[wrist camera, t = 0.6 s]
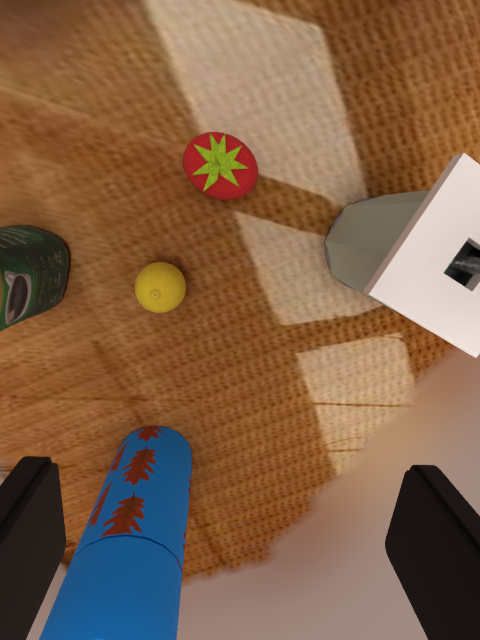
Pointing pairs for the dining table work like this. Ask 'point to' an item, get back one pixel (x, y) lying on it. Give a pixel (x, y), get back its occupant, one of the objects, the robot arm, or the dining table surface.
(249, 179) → the strawberry
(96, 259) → the dining table surface
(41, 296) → the coffee jar
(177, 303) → the lemon
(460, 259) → the plunger
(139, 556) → the thermos
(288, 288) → the dining table surface
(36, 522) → the robot arm
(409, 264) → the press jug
